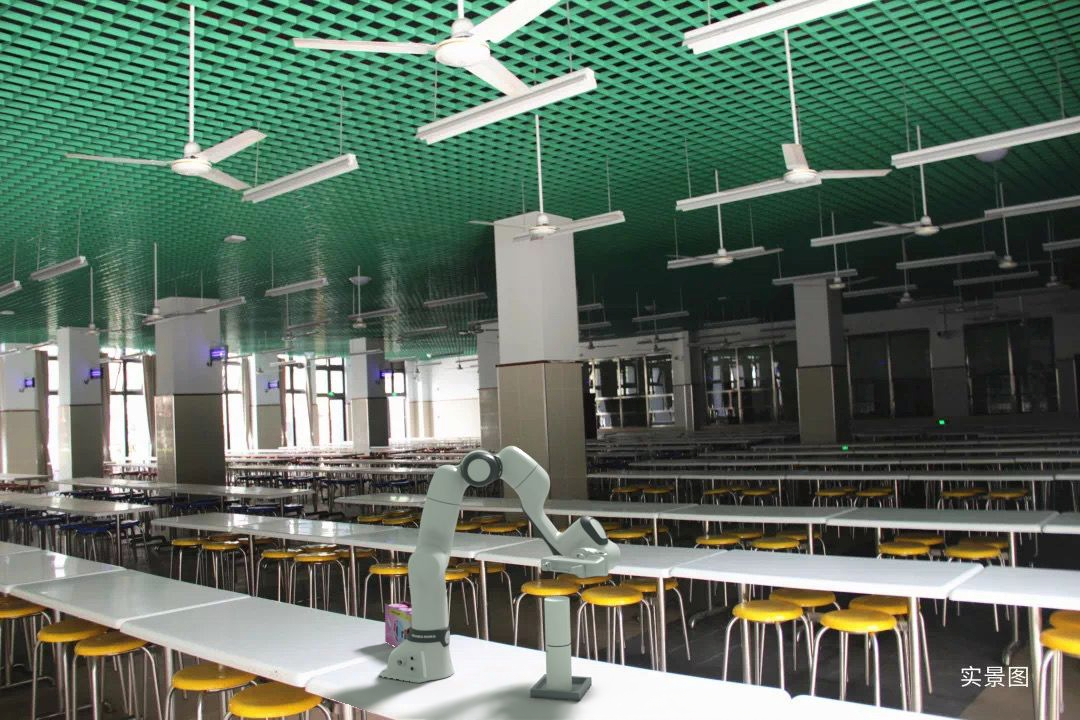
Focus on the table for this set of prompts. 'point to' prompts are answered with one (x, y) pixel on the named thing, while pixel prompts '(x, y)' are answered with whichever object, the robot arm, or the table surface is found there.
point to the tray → (576, 694)
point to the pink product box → (397, 622)
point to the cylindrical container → (558, 643)
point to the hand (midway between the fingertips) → (557, 569)
